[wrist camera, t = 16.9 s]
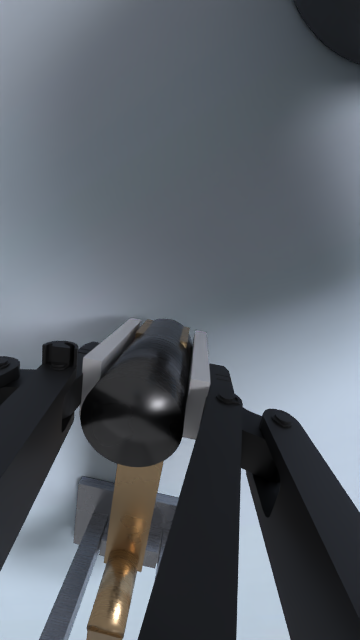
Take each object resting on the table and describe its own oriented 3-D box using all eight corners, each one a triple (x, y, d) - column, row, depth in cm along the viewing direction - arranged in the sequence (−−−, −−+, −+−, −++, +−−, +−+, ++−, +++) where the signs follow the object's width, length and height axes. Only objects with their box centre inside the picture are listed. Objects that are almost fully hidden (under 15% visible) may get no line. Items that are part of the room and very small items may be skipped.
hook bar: (141, 313, 15) (84, 366, 8) (196, 324, 15) (192, 389, 8) (109, 540, 21) (56, 703, 13) (149, 550, 20) (119, 719, 13)
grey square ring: (82, 476, 23) (-72, 758, 10) (202, 503, 23) (205, 836, 10) (77, 534, 25) (-57, 831, 12) (187, 560, 25) (172, 898, 12)
